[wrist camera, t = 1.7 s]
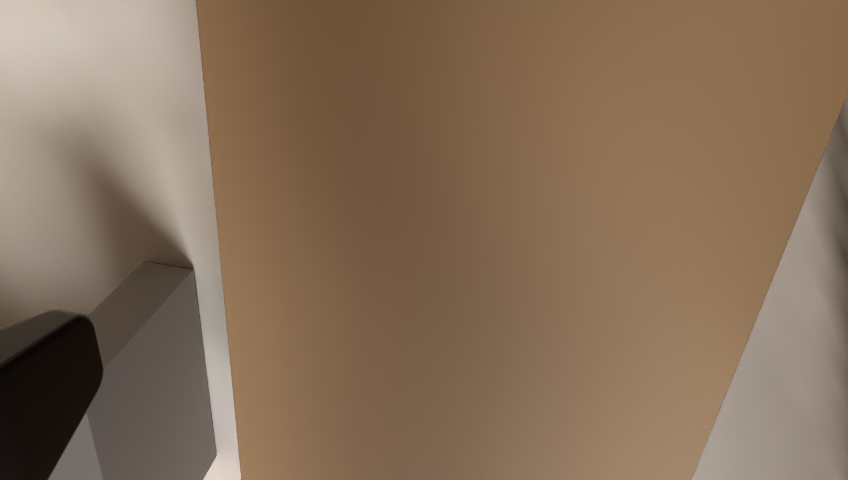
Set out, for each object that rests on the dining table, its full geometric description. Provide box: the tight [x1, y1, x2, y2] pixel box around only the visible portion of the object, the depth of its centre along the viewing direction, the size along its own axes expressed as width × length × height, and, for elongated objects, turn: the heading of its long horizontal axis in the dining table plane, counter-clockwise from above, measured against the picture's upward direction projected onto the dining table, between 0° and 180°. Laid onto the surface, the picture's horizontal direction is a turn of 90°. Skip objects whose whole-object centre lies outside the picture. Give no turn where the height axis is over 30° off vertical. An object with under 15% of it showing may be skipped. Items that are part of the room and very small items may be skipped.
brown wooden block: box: [196, 0, 848, 480], centre depth 9 cm, size 5×14×5 cm, turn 176°
